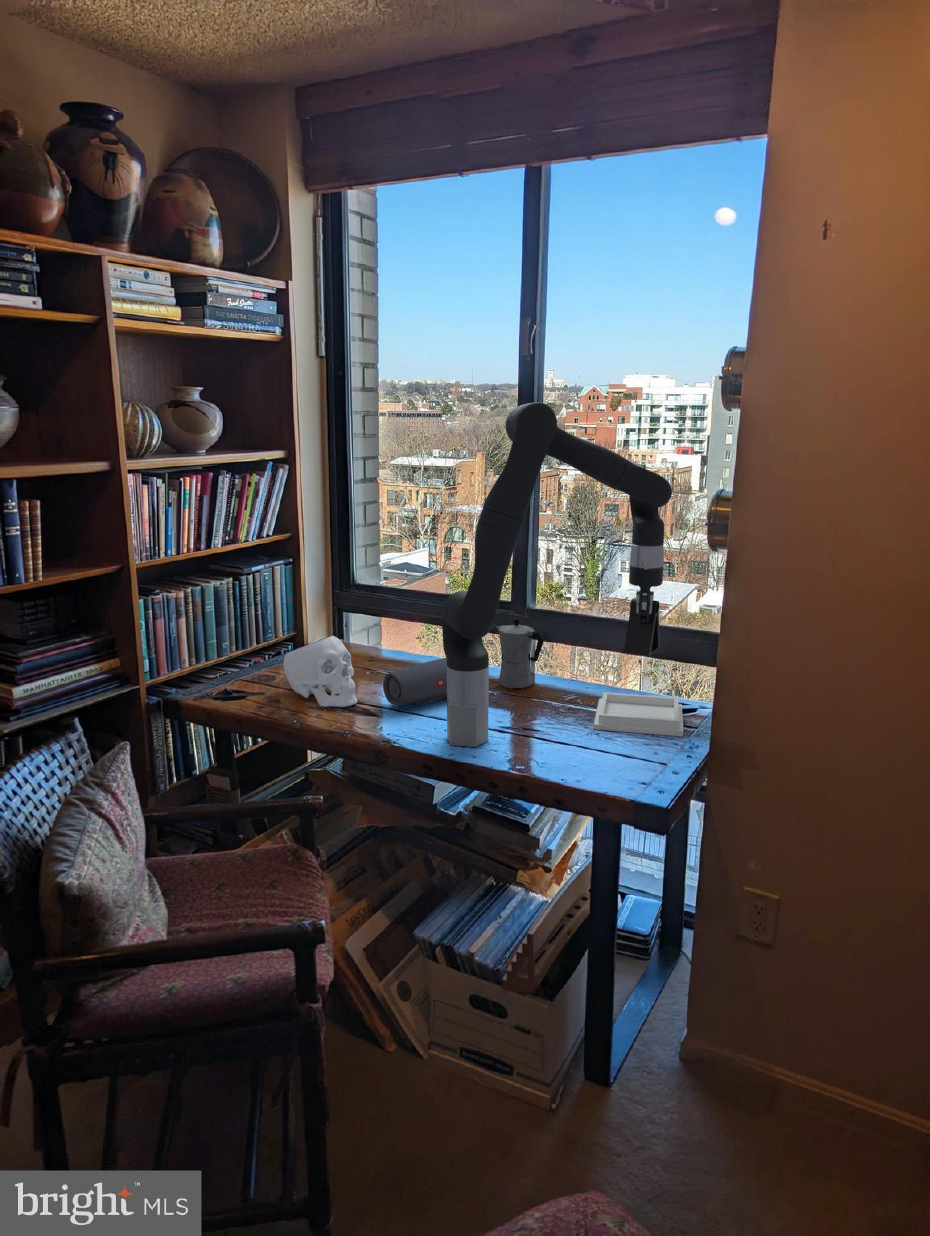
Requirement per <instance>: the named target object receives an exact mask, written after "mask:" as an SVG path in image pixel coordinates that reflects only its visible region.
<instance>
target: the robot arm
mask: <svg viewBox="0 0 930 1236" xmlns="http://www.w3.org/2000/svg"><path fill="white" fill-rule="evenodd" d="M556 415H557V414H556V412H555V411H554V409H553V408H552V407H551V406H550V405H548V404H547V403H546V402H545V403H544V402H539V401H538V402H536V401H534V402H529V403H524V404H521V405H518V406H515V408H513V409H511V411H510V412H509V413H508V415H507V416H506V420H505V425H504V426H505V432H506V435H507V436H508V438H509V439H510V441H511V442H512V443H511V447H510V450H509V454H508V457H507V460H506V463H505V464H504V467H503V469H502V470H501V472H500V474H499V475H498V477H497V479H496V480H495V482H494V484H493V486H491V489H490V491H489V492H488V494H487V496H486V497H485V500H484V503H483V505H482V508H481V511H480V514H479V518H478V520H477V524H476V528H475V533H474V567H473V568H474V569H473V573H472V577H471V579H470V583H469V586H468V589H467V590H458V591H455V592H454V593H452V594H451V595H449V596H448V597H447V599H446V600H445V602H444V604H443V607H442V613H441V627H442V629H441V630H442V631H441V632H442V647H443V651H444V656H445V658H446V660H447V697H446V739H447V741H448V742H449V745H450V746H456V747H457V746H459V747H469V748H470V747H471V748H477V747H478V746H481V745H482V744H485V743H487V742H488V741H489V699H490V698H489V696H490V695H489V685H490V684H489V678H490V677H489V675H490V670H489V669H490V668H489V667H490V665H489V663H490V657H489V653H488V651H487V649H486V647H485V645H484V641H483V638H484V637H486V636H487V634H489V633H490V631H491V630H492V628H493V626H494V623H495V620H496V619H497V613H498V608H499V604H500V599H501V595H502V591H503V588H504V587H503V585H504V583H505V579H506V575H507V572H508V569H509V566H510V563H511V561H512V557H513V553H514V551H515V548H516V544H517V542H518V540H519V537H520V533H521V532H522V529H523V525H524V522H525V519H526V515H527V513H528V509H529V506H530V503H531V500H532V496H533V493H534V490H535V485H536V482H537V480H538V479H537V478H538V476H539V473H540V470H541V468H542V465H543V463H544V461H545V459H546V457H547V456H549V457H550V458H553V459H556V460H558V461H560V462H562V463H564V464H566V465H568V466H570V467H572V468H574V469H575V470H577V471H580V472H581V473H583V474H584V475H586V476H589V477H590V478H592V479H593V480H595V481H597V482H599V483H601V484H602V485H605V486H606V487H609V488H611V489H612V490H615V491H619V492H622V493H625V494H626V495H628V496H629V506H630V514H631V520H632V532H631V533H632V534H631V538H632V539H631V549H630V551H629V552H630V553H629V572H628V583H629V584H630V585H631V586H636V587H639V590H636V595H635V598H636V601H637V609H636V612H637V613H638V619H637V622H638V623H640V629H641V628H642V626H645V625H646V624H647V623H649V622H650V619H649V614H651V613H652V602H653V600H654V596H655V595H654V594H655V591H651V588H652V587H654V588H656V587H660V586H662V585H663V581H664V580H663V579H664V566H665V565H664V563H665V549H664V548H665V546H664V543H665V522H664V520H663V519H662V518H661V516H660V515H659V514H660V513H659V508H661V507H664V506H666V505H667V504H668V503H669V502H670V500H671V498H672V495H673V490H672V486H671V483H670V482H669V481H668V480H667V479H666V478H665V477H663V476H662V475H660V474H659V473H656V472H654V471H652V470H649V469H647V468H645V467H642V466H639V465H637V464H635V463H633V462H631V461H630V460H628V459H627V458H626V457H624V456H622V455H621V454H618V453H616V452H615V451H613V450H611V449H609V448H607V447H604V446H602V445H600V444H597V443H595V442H593V441H589V440H587V439H584V438H581V437H579V436H576V435H575V434H572V433H570V432H568V431H566V430H565V429H563V428H561V427H560V426H558V419H557V416H556ZM639 599H640V601H639ZM640 616H647V618H646V617H640Z"/></svg>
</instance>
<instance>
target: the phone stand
mask: <svg viewBox="0 0 930 1236" xmlns="http://www.w3.org/2000/svg"><path fill="white" fill-rule="evenodd" d="M639 601H640V599H639ZM629 605H630V606H629V617H628V622H627V627H626V628H627V629H626V634H625V641H624V646H623V647H624V648H623V654H624V653H625V654H631V655H637V656H643V657H644V656H645V657H650V656H652V655H653V654H654V653H655V652H656V651H658V650H659V649H660V648H661V632H660V601H659V600H654V599H653V602H652V613H651V614H649V619H650V622H649V623H647V624H646V625H645V626H642V628H641V629H640V623H638V622H637V619H638V613H637V612H636V609H637V601H636V597H633V598H631V600H630V604H629ZM640 617H646V618H647V616H640Z"/></svg>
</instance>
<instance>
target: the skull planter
mask: <svg viewBox="0 0 930 1236" xmlns="http://www.w3.org/2000/svg"><path fill="white" fill-rule="evenodd" d="M283 669H284V673H285V676H286V678H287V681H288V684H289V685H290V687H291V688H292V690H293V691H294V692H295V693H297V694H299V695H301V696H302V697H303V698H305V699H308V698H309V696H311V695H314V697H315V699H316V701H317V703H318V705H319V706H320V707H322V706H324V707H323V708H327V707H337V708H347V707H350V706H353V705H356V704H358V700H359V699H358V697H357V695H356V688H357V687H356V684H355V681H354V680H353V679H352V677H354V674H355V673H354V672H355V671H354V667H353V665H352V654H351V653H350V652H349V650H348V649H347V648H346V646H345V645H344V643H343V641H341V639H339V638H338V637H336V636H335V635H331V636H327V637H325V638H323V639H319V640H317V641H314V642H312V643H309V644H307V645H305V646H302V647H300V648H297V649H295V650H293V651H290V652H287V653H285V655H284V658H283ZM328 690H329V691H331V692H330V694H328V693H327V692H326V691H328Z"/></svg>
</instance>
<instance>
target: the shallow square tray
mask: <svg viewBox="0 0 930 1236" xmlns="http://www.w3.org/2000/svg"><path fill="white" fill-rule="evenodd" d="M596 707H597V708H596V712H595V716H594V721H593V722H594V723H593V730H597V731H611V732H623V733H634V734H635V733H636V734H646V735H648V734H649V735H661V736H671V737H673V736H674V737H684V720H683V704H681V703H679V697H673V696H672V697H671V696H658V695H645V694H643V695H642V694H630V693H618V692H615V693H614V692H605V691H604V692H603V693H602V697H600V698H599V699H598V704H597V706H596Z"/></svg>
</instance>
